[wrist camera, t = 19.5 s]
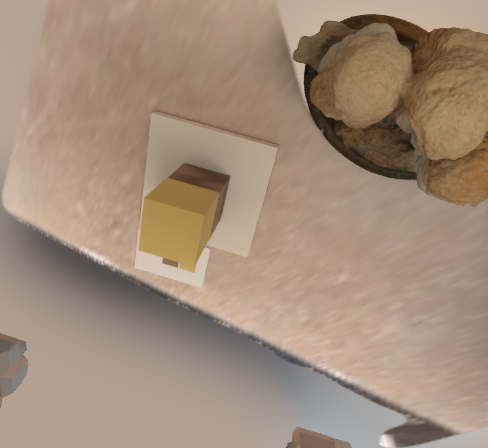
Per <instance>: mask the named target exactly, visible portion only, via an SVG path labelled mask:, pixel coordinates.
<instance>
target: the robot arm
mask: <svg viewBox="0 0 488 448" xmlns="http://www.w3.org/2000/svg"><path fill="white" fill-rule="evenodd" d="M26 350H27V347H26V342H25V341H22V340H19V339H16V338H13V337H10V336H7V335H4V334H1V333H0V407H1V403H2V398H3V397H5V396H7V395H10V394H11V393H13V392H14V391H15V390H16V389H17V388H18V386H19V385H20V384H21V382H22V380H23V379H24V377H25V375H26V373H27V368H28V360H27V359H26V357H25V356H24V355H23V353H24V352H25V351H26ZM286 448H352V447H351V445H350V443H348V442H345V441H341V440H338V439H334V438H331V437H330V436H327V435H323V434H320V433H317V432H313V431H310V430H306V429H303V428H300V427H297V428H295V430H294V432H293V434H292V442H289V443H288V444H287V447H286Z"/></svg>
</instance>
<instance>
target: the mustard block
mask: <svg viewBox="0 0 488 448" xmlns="http://www.w3.org/2000/svg"><path fill="white" fill-rule="evenodd" d="M218 197H219V192H215V191H212V190H209V189H205V188H202V187H198V186H195V185H191V184H188V183H184V182H181V181H177V180H174V179H170V178H166V179H165V180H164V181H162V182H161V183H160V184H159V185H158V186H157V187H156V188H155V189H153V190H152V191H151V192H150V193H149V194H148V195H147V196H146V197H144V203H143V212H142V221H141V230H140V239H139V248H138V250H139V251H143V252H146V253H149V254H153V255H156V256H159V257H163V258H166V259H169V260H173V261H176V262H179V263H183V264H186V265H189V266H193V267H195V265H196V263H197V261H198V259H199V257H200V255H201V254H202V252H203V250H204V248H205V246H206V244H207V243H208V241H209V239H210V234H211V229H212V225H213V220H214V216H215V211H216V207H217V202H218Z"/></svg>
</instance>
